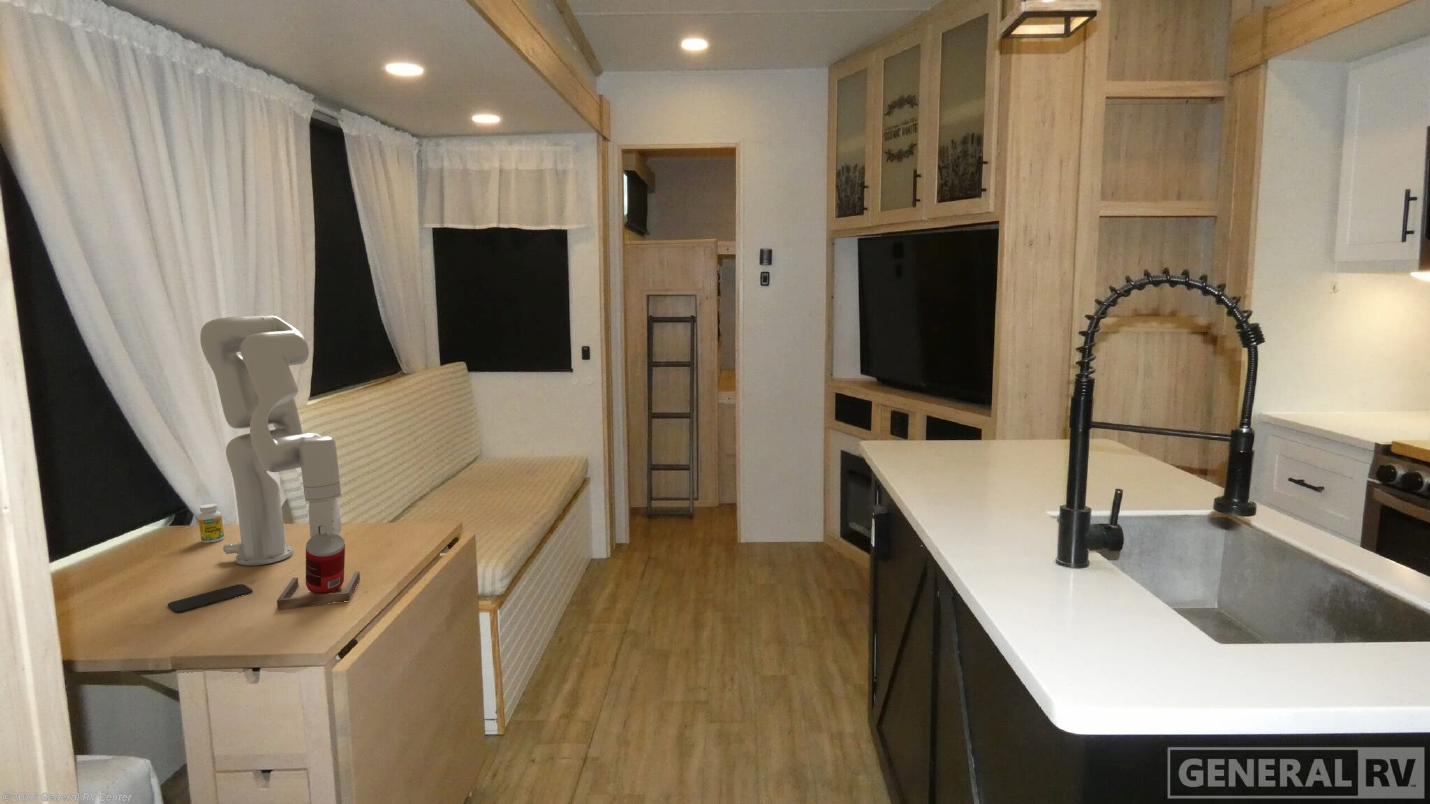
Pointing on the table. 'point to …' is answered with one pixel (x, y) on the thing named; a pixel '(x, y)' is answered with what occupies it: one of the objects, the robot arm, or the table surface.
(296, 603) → the walnut frame
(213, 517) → the supplement bottle
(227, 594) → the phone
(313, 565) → the canned food
